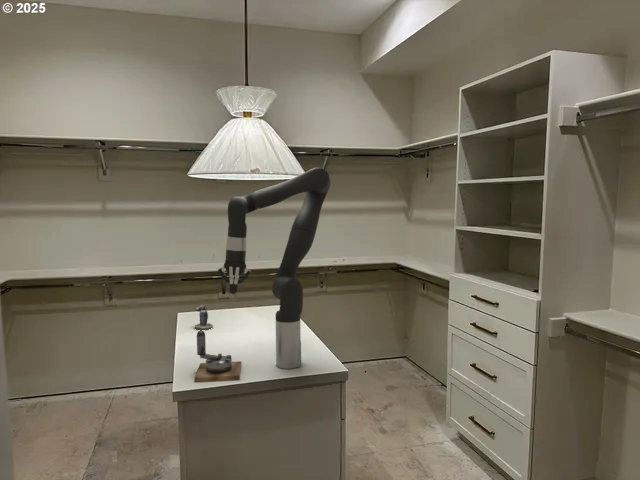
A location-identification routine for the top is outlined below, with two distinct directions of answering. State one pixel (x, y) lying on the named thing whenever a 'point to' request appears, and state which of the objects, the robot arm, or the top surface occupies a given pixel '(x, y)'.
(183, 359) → the top surface
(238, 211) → the robot arm
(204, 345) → the grey bent piece
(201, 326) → the figurine
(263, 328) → the top surface
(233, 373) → the walnut cap plate
